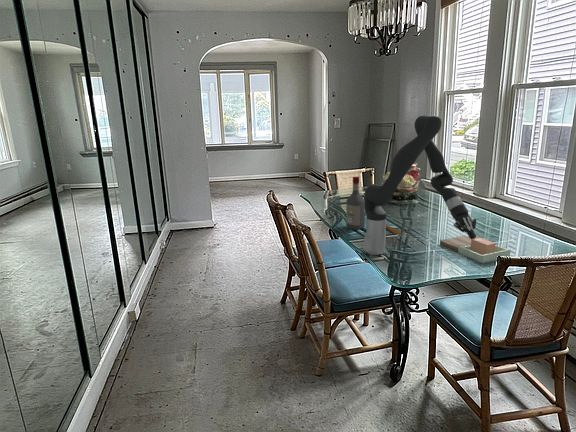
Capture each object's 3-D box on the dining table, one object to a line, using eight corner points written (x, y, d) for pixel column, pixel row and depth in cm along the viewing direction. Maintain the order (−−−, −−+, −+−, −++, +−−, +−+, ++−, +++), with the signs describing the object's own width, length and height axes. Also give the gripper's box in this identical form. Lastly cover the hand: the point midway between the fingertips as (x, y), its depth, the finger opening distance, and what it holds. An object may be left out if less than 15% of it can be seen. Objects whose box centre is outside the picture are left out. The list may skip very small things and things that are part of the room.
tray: (482, 263, 168) (483, 255, 167) (457, 252, 181) (458, 244, 180) (509, 257, 173) (510, 249, 172) (483, 247, 187) (484, 239, 185)
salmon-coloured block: (470, 250, 182) (485, 257, 173) (471, 238, 180) (487, 244, 172) (478, 249, 183) (494, 255, 175) (479, 237, 182) (495, 243, 174)
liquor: (357, 230, 218) (358, 179, 210) (344, 227, 224) (344, 177, 216) (366, 226, 224) (367, 176, 216) (353, 224, 230) (353, 175, 222)
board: (457, 252, 181) (458, 247, 181) (439, 244, 192) (440, 240, 191) (483, 247, 187) (483, 242, 186) (464, 240, 197) (464, 235, 197)
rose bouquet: (377, 198, 291) (378, 159, 283) (413, 195, 294) (416, 156, 286) (389, 206, 266) (391, 163, 258) (429, 203, 269) (432, 161, 261)
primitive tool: (403, 234, 211) (403, 228, 210) (396, 235, 209) (396, 229, 208) (380, 225, 228) (381, 219, 227) (373, 226, 226) (373, 221, 225)
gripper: (450, 205, 184) (467, 236, 176) (471, 202, 188) (489, 232, 180) (441, 213, 190) (458, 243, 182) (462, 209, 194) (479, 239, 186)
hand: (473, 238), depth 181 cm, fingers closed
